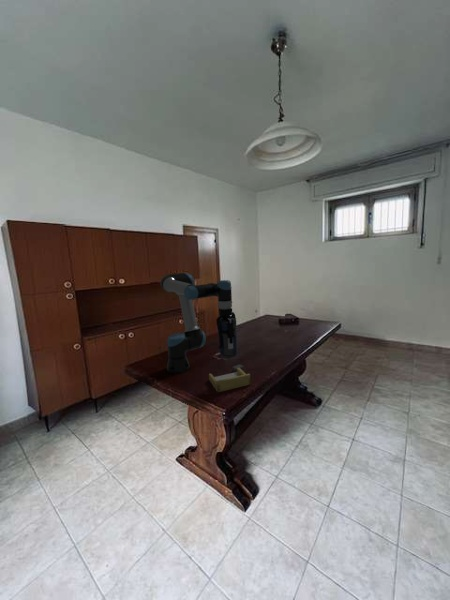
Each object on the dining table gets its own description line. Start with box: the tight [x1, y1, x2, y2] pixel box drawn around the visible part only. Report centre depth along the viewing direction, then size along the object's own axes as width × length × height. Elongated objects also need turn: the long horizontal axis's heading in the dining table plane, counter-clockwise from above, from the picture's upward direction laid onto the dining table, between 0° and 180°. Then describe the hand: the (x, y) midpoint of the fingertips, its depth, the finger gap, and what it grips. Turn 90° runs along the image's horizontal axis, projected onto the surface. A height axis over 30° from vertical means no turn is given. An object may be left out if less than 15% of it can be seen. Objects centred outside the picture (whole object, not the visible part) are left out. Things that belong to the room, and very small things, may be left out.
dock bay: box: [208, 368, 251, 393], centre depth 146 cm, size 20×16×6 cm
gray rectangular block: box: [232, 364, 245, 373], centre depth 161 cm, size 6×4×3 cm, turn 122°
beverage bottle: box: [215, 311, 239, 359], centre depth 142 cm, size 10×13×25 cm
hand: (227, 345), depth 143 cm, fingers closed on beverage bottle, 10 cm apart
